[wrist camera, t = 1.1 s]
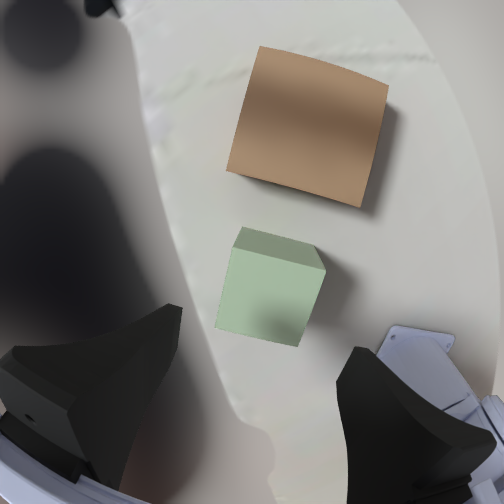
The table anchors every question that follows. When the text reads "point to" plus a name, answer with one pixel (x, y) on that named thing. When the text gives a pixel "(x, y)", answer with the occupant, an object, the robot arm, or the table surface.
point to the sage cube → (270, 287)
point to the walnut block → (308, 126)
